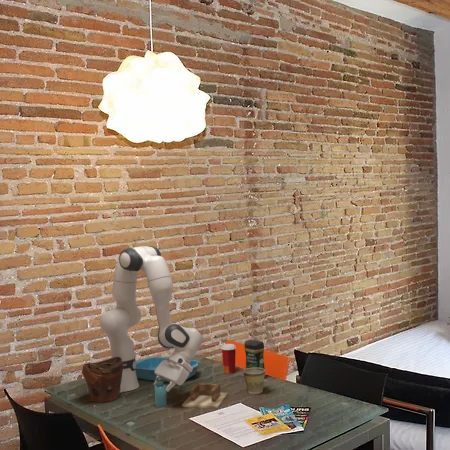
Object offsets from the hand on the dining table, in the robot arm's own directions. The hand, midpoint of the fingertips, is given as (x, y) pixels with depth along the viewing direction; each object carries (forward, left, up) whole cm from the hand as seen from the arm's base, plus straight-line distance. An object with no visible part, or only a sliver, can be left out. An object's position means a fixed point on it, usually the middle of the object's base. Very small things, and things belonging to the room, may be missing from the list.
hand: (160, 388), depth 269 cm
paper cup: (+18, +52, -8) cm, 55 cm away
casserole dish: (-13, +42, -8) cm, 45 cm away
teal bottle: (0, 0, -8) cm, 8 cm away
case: (-30, +6, -8) cm, 32 cm away
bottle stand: (+18, +8, -7) cm, 21 cm away
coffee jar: (+33, +45, -8) cm, 56 cm away
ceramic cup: (+38, +24, -8) cm, 45 cm away
